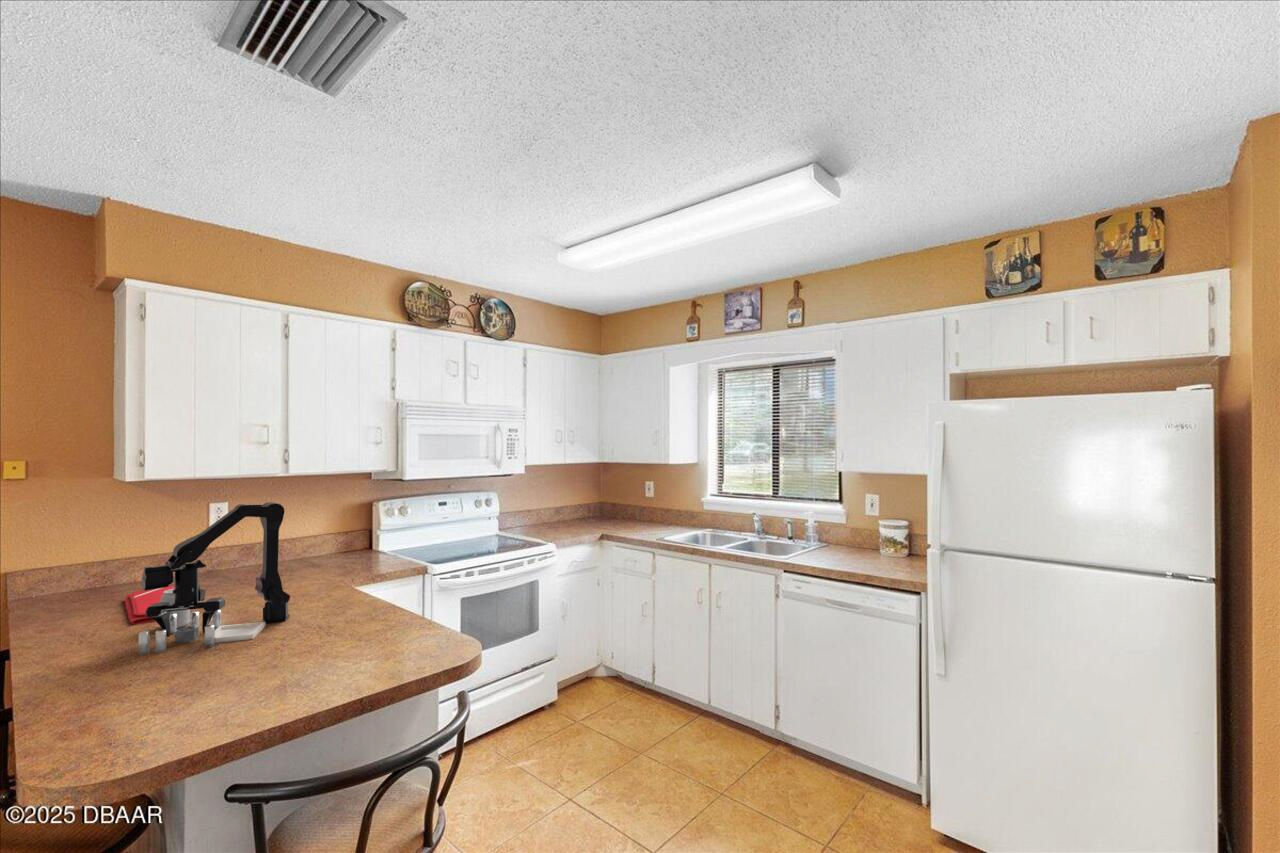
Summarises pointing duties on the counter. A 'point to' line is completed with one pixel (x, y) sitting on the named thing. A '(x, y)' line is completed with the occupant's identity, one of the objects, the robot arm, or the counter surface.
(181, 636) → the grey faceted icosahedron
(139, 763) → the counter surface
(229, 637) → the tray
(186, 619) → the can
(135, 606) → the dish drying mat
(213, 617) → the spacer posts
